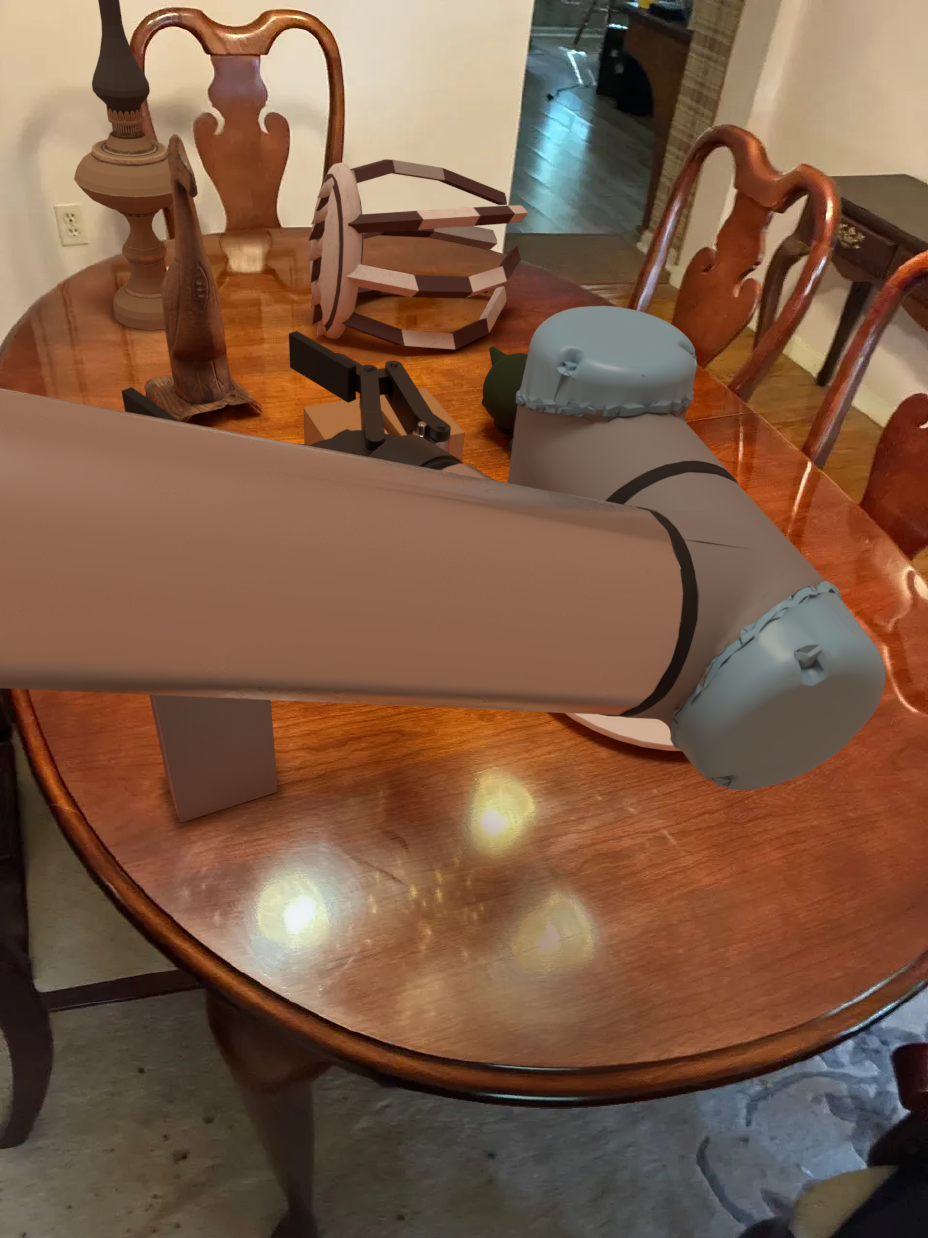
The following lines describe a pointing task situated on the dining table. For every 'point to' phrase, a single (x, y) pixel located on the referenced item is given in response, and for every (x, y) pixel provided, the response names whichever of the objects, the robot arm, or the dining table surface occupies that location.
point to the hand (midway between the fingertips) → (216, 376)
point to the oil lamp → (129, 173)
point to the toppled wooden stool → (345, 228)
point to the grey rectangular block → (215, 751)
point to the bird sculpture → (192, 313)
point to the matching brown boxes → (345, 415)
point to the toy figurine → (503, 388)
